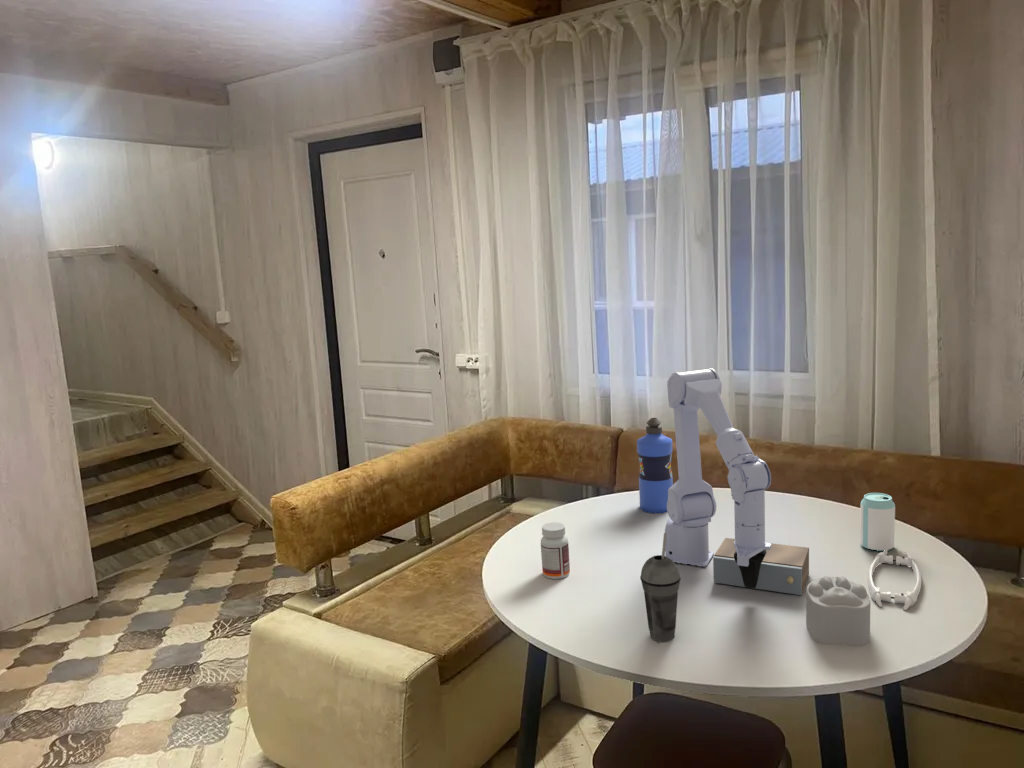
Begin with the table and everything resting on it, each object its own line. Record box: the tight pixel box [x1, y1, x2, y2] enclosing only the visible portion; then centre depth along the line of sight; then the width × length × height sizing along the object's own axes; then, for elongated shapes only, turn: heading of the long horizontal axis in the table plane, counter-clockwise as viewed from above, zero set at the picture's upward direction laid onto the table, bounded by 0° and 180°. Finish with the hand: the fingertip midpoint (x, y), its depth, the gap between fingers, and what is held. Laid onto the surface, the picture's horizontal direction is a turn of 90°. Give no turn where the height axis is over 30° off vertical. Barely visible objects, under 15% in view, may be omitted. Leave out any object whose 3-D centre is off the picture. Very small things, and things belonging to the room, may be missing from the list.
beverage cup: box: [639, 532, 682, 643], centre depth 142 cm, size 7×7×20 cm
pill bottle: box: [540, 521, 571, 580], centre depth 172 cm, size 6×6×11 cm
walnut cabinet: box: [714, 537, 810, 594], centre depth 164 cm, size 18×10×6 cm, turn 62°
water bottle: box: [636, 417, 674, 514], centre depth 209 cm, size 9×9×25 cm
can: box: [859, 492, 896, 552], centre depth 175 cm, size 7×7×12 cm
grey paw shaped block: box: [805, 575, 871, 647], centre depth 142 cm, size 10×13×9 cm
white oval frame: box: [867, 550, 922, 611], centre depth 159 cm, size 3×10×25 cm
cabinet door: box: [712, 555, 803, 596], centre depth 159 cm, size 18×2×6 cm, turn 62°
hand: (750, 586), depth 155 cm, fingers closed
